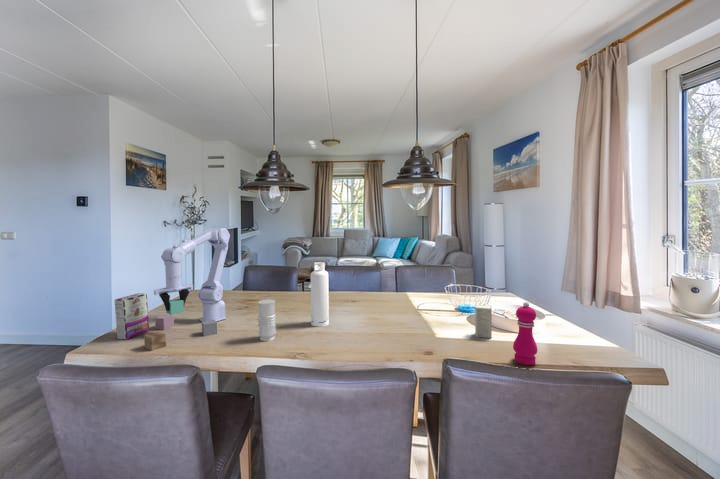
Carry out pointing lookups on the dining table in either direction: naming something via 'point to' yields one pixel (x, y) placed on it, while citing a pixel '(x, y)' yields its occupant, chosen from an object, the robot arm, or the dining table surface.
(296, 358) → the dining table surface
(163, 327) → the plum block
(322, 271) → the bottle
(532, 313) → the pepper mill
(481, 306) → the skincare box
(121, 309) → the candy bar box
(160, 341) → the walnut block
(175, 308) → the teal block
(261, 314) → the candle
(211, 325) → the charcoal block
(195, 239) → the robot arm
